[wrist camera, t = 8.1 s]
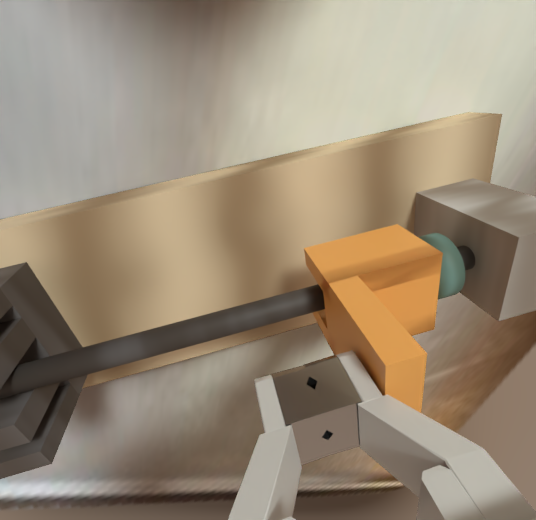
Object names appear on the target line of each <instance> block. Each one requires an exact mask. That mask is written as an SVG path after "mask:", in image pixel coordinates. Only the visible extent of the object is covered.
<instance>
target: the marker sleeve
mask: <svg viewBox="0 0 536 520" xmlns="http://www.w3.org/2000/svg"><path fill="white" fill-rule="evenodd" d="M304 253H305V260H306V266H307V267H308V269H309V270H310V272H311V274H312V275H313V277H314V278H315V280H316V281H317V283H318V285H319V286H320V288H321V289H322V291H323V295H324V304H325V309H324V310H320V311H316V312H313V315H314V317H315V319H316V321H317V323H318V325H319V327H320V328H321V330H322V332H323V334H324V336H325V338H326V340H327V342H328V344H329V346H330V347H331V349H332V351H333V353H334V355H335V356H336V355H338V354H341V353H344V352H348V351H351V350H352V351H354V352H355V353H356V355H357V356H358V358H359V360H360V361H361V363H362V364H363V366H364V367H365V369H366V371H367V372H368V374H369V375H370V377H371V378H372V380H373V381H374V383H375V385H376V386H377V388H378V389H379V391H380V392H381V394H382V396H384V395H387V394H388V395H390V396H392V397H393V398H395V399H397V400H399V401H400V402H402V403H404V404H406V405H408V406H409V407H411V408H413V409H415V410H416V411H418V412H420V413H421V407H422V398H423V388H424V378H425V369H426V359H427V353H426V352H425V351H424V350H423V348H422V347H421V346H420V345H419V344H418V343H417V342H416V341H415V339H414V338H413V337H412V336H413V335H416V334H420V333H423V332H427V331H430V330H434V327H435V318H436V309H437V300H438V291H439V283H440V274H441V265H442V256H443V253H442V252H441V251H439V250H437V249H436V248H434V247H433V246H431V245H430V244H428V243H426V242H425V241H423V240H422V239H420V238H419V237H417V236H415V235H414V234H412V233H411V232H409V231H408V230H406V229H404V228H403V227H401V226H400V225H398V224H396V225H392V226H388V227H384V228H380V229H376V230H372V231H369V232H365V233H361V234H357V235H353V236H349V237H345V238H341V239H337V240H334V241H330V242H326V243H322V244H318V245H314V246H310V247H306V248H304Z"/></svg>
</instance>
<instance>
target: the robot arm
mask: <svg viewBox="0 0 536 520" xmlns="http://www.w3.org/2000/svg"><path fill="white" fill-rule="evenodd" d="M254 381H255V389H256V393H257V398H258V403H259V408H260V413H261V418H262V423H263V428H264V433H263V434H260V435H259V437H258V440H257V442H256V445H255V448H254V450H253V453H252V456H251V458H250V461H249V464H248V467H247V469H246V472H245V475H244V477H243V480H242V483H241V485H240V488H239V491H238V493H237V496H236V499H235V502H234V504H233V507H232V510H231V513H230V515H229V518H228V520H296V519H294V518H292V517H293V511H294V506H295V500H296V496H297V491H298V485H299V480H300V475H301V470H302V466H301V465H304V464H307V463H309V462H312V461H315V460H318V459H320V458H323V457H326V456H329V455H332V454H335V453H338V452H342V451H345V450H349V449H352V448H355V447H359V446H360V448H361V449H362V450H363V451H365V452H366V453H367V454H368V455H369V456H370V457H372V458H373V459H374V460H375V461H376V462H377V463H379V464H380V465H381V466H382V467H383V468H385V469H386V470H387V471H388V472H389V473H390V474H392V475H393V476H394V477H395V478H396V479H397V480H399V481H400V482H401V483H402V484H403V485H405V486H406V487H407V488H408V489H409V490H411V491H412V492H413V493H414V494H415V495H416V496H418V497H419V503H418V511H417V518H416V520H536V511H535V510H534V509H533V508H532V506H531V505H530V504H529V503H528V501H527V500H526V499H525V498H524V496H523V495H522V494H521V493H520V492H519V490H518V489H517V488H516V487H515V486H514V484H513V483H512V482H511V481H510V480H509V478H508V477H507V476H506V475H505V473H504V472H503V471H502V470H501V469H500V468H499V466H498V465H497V464H496V463H495V461H494V460H493V459H492V458H491V457H490V455H489V454H488V453H487V452H486V450H485V449H484V448H482V447H480V446H479V445H477V444H475V443H473V442H471V441H470V440H468V439H466V438H464V437H463V436H461V435H459V434H457V433H455V432H454V431H452V430H450V429H448V428H447V427H445V426H443V425H441V424H440V423H438V422H436V421H434V420H432V419H431V418H429V417H427V416H425V415H424V414H422V413H420V412H418V411H416V410H415V409H413V408H411V407H409V406H408V405H406V404H404V403H402V402H400V401H399V400H397V399H395V398H393V397H392V396H390V395H388V394H387V395H384V396H382V394H381V392H380V391H379V389H378V388H377V386H376V385H375V383H374V381H373V380H372V378H371V377H370V375H369V374H368V372H367V371H366V369H365V367H364V366H363V364H362V363H361V361H360V360H359V358H358V356H357V355H356V353H355V352H354V351H352V350H351V351H348V352H344V353H341V354H338V355H336V356H335V355H333V356H330V357H327V358H324V359H321V360H317V361H314V362H311V363H308V364H305V365H303V366H299V367H296V368H292V369H288V370H285V371H281V372H277V373H273V374H272V375H271V374H270V375H267V376H263V377H260V378H256V379H254Z"/></svg>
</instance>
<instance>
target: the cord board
mask: <svg viewBox="0 0 536 520" xmlns="http://www.w3.org/2000/svg"><path fill="white" fill-rule="evenodd" d="M501 117H502V114H491V113H472V112H467V113H463V114H459V115H454V116H450V117H446V118H441V119H437V120H433V121H428V122H424V123H419V124H415V125H411V126H406V127H402V128H398V129H393V130H389V131H384V132H380V133H376V134H371V135H367V136H363V137H358V138H354V139H350V140H345V141H341V142H336V143H332V144H328V145H323V146H319V147H315V148H310V149H306V150H302V151H297V152H293V153H288V154H284V155H280V156H275V157H271V158H267V159H262V160H258V161H254V162H249V163H245V164H240V165H236V166H232V167H227V168H223V169H219V170H214V171H210V172H206V173H201V174H197V175H192V176H188V177H184V178H179V179H175V180H171V181H166V182H162V183H158V184H153V185H149V186H144V187H140V188H136V189H131V190H127V191H123V192H118V193H114V194H110V195H105V196H101V197H96V198H92V199H88V200H83V201H79V202H75V203H70V204H66V205H61V206H57V207H53V208H48V209H44V210H40V211H35V212H31V213H27V214H22V215H18V216H13V217H9V218H5V219H0V479H2V478H5V477H8V476H12V475H15V474H19V473H22V472H25V471H29V470H32V469H35V468H39V467H42V466H46V465H49V464H52V462H53V459H54V457H55V454H56V452H57V450H58V447H59V445H60V442H61V440H62V437H63V435H64V432H65V430H66V427H67V425H68V422H69V420H70V417H71V415H72V412H73V410H74V407H75V405H76V403H77V400H78V398H79V395H80V393H81V390H82V388H86V387H89V386H93V385H97V384H100V383H104V382H107V381H111V380H115V379H118V378H122V377H125V376H129V375H132V374H136V373H140V372H143V371H147V370H150V369H154V368H157V367H161V366H165V365H168V364H172V363H175V362H179V361H183V360H186V359H190V358H193V357H197V356H200V355H204V354H208V353H211V352H215V351H218V350H222V349H226V348H229V347H233V346H236V345H240V344H243V343H247V342H251V341H254V340H258V339H261V338H265V337H269V336H272V335H276V334H279V333H283V332H286V331H290V330H294V329H297V328H301V327H304V326H308V325H311V324H315V323H317V321H316V319H315V317H314V315H313V312H316V311H320V310H324V309H325V304H324V295H323V291H322V289H321V288H320V286H319V285H318V283H317V281H316V280H315V278H314V277H313V275H312V274H311V272H310V270H309V269H308V267H307V266H306V260H305V253H304V248H306V247H310V246H314V245H318V244H322V243H326V242H330V241H334V240H337V239H341V238H345V237H349V236H353V235H357V234H361V233H365V232H369V231H372V230H376V229H380V228H384V227H388V226H392V225H396V224H398V225H400V226H401V227H403V228H404V229H406V230H408V231H409V232H411V233H412V234H414V235H415V236H417V237H419V238H420V239H422V240H423V241H425V242H426V243H428V244H430V245H431V246H433V247H434V248H436V249H437V250H439V251H441V252H442V253H443V256H442V265H441V274H440V283H439V291H438V299H441V298H445V297H448V296H452V295H455V294H457V293H459V292H460V293H461V294H463V295H464V296H465V297H467V298H468V299H469V300H471V301H472V302H473V303H475V304H476V305H477V306H479V307H480V308H482V309H483V310H484V311H486V312H487V313H488V314H490V315H491V316H492V317H494V318H495V319H496V320H498V321H501V320H505V319H508V318H511V317H515V316H518V315H522V314H525V313H528V312H532V311H535V310H536V197H535V196H531V195H528V194H525V193H521V192H518V191H514V190H511V189H508V188H504V187H501V186H497V185H494V184H491V183H490V179H491V174H492V168H493V162H494V157H495V151H496V145H497V140H498V134H499V128H500V123H501Z"/></svg>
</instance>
